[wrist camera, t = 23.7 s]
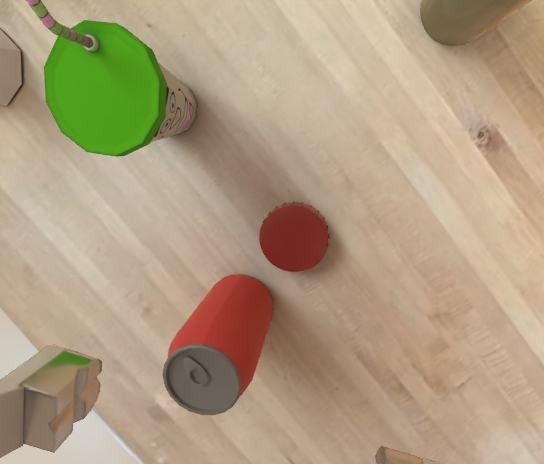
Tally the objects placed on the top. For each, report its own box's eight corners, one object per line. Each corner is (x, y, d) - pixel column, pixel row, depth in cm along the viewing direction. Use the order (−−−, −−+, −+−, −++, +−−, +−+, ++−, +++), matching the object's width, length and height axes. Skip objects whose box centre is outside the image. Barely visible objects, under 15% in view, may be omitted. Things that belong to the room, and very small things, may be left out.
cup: (196, 166, 32) (89, 186, 17) (122, 129, 32) (-45, 119, 18) (228, 83, 29) (135, 27, 15) (148, 44, 30) (-19, -48, 15)
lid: (256, 207, 32) (252, 210, 30) (323, 196, 31) (323, 199, 29) (268, 269, 33) (265, 276, 32) (333, 261, 32) (333, 268, 30)
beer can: (251, 260, 33) (212, 323, 22) (286, 314, 34) (266, 402, 23) (198, 290, 35) (136, 362, 24) (233, 341, 36) (190, 435, 24)
